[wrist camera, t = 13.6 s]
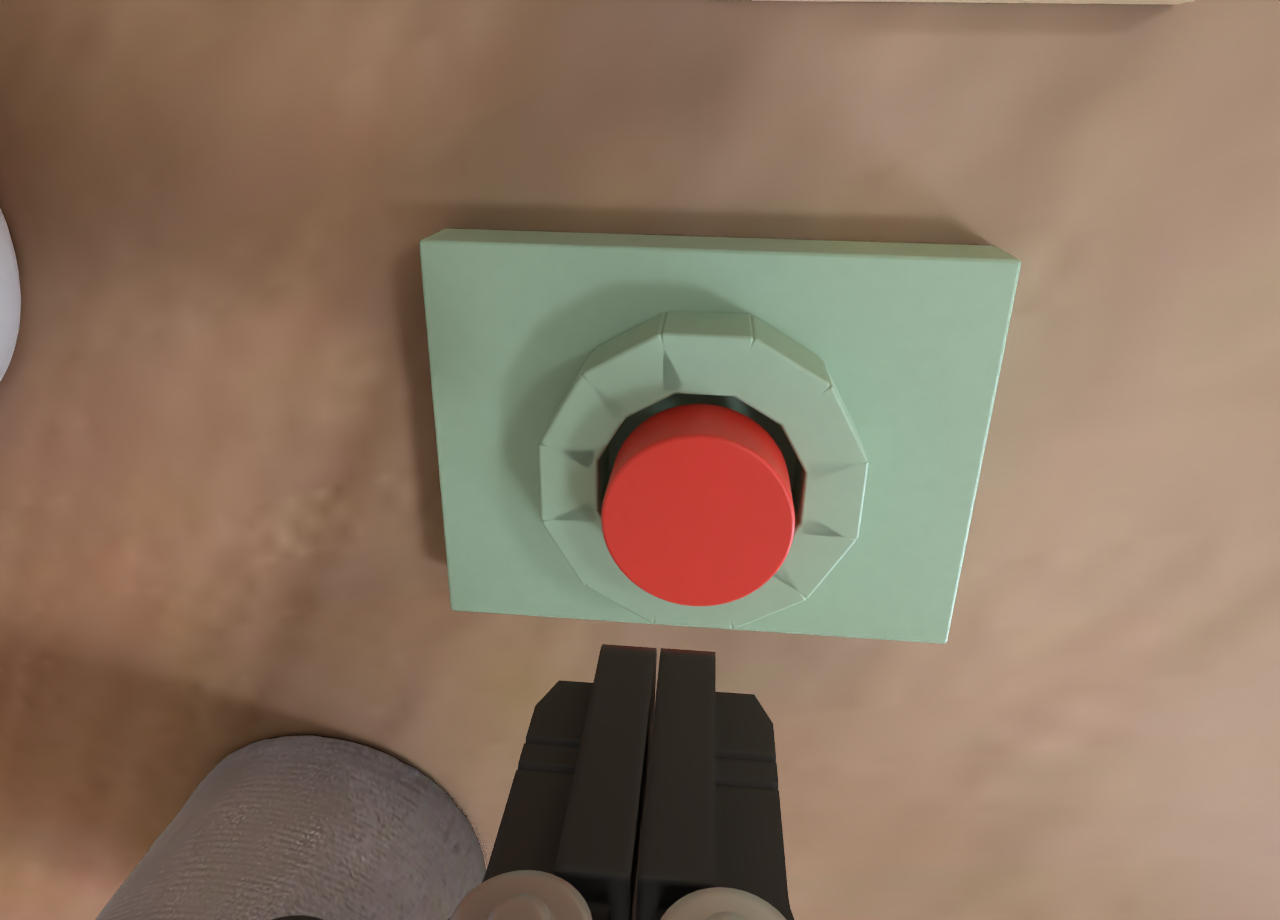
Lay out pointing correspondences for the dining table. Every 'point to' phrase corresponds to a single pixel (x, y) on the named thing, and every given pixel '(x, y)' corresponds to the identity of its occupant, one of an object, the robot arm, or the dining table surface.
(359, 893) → the pillar candle
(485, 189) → the dining table surface
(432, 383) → the button block
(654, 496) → the button
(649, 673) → the robot arm
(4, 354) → the teacup
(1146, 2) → the lever bracket
